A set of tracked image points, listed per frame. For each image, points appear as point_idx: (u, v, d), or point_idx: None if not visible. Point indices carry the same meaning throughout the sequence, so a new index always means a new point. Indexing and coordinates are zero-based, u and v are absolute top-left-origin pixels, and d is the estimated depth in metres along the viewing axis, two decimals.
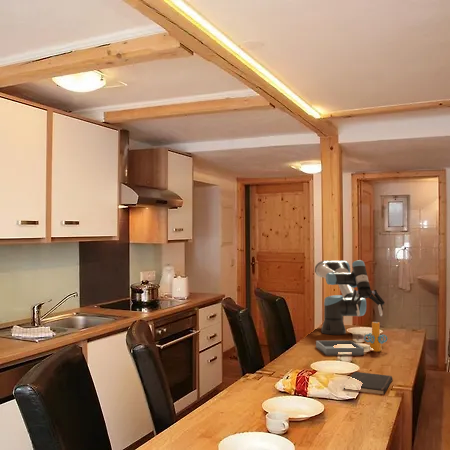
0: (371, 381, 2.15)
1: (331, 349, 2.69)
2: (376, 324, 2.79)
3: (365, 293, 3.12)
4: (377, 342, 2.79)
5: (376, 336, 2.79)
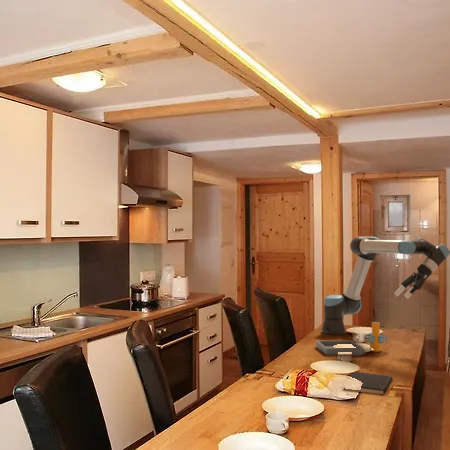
0: (371, 381, 2.15)
1: (331, 349, 2.69)
2: (376, 324, 2.79)
3: None
4: (377, 342, 2.79)
5: (376, 336, 2.79)
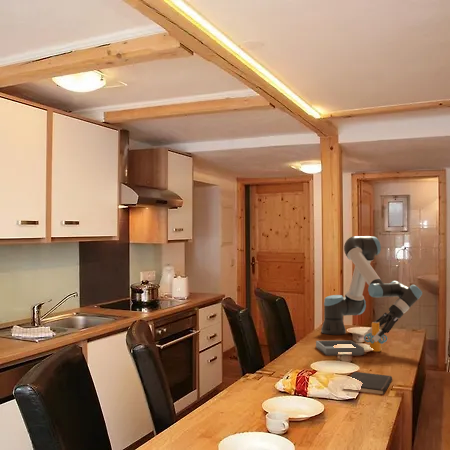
0: (371, 381, 2.15)
1: (331, 349, 2.69)
2: (376, 324, 2.79)
3: None
4: (377, 342, 2.79)
5: None
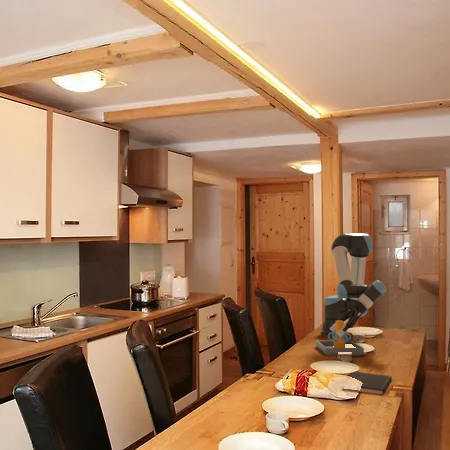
0: (370, 381, 2.15)
1: (331, 349, 2.69)
2: (340, 322, 2.78)
3: None
4: (340, 340, 2.77)
5: None
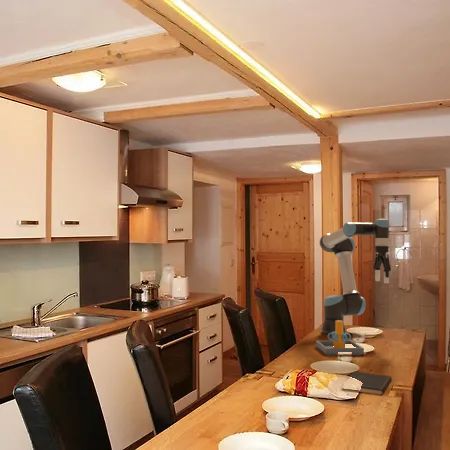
0: (370, 381, 2.15)
1: (331, 349, 2.69)
2: (339, 322, 2.78)
3: None
4: (340, 340, 2.77)
5: (339, 334, 2.78)
